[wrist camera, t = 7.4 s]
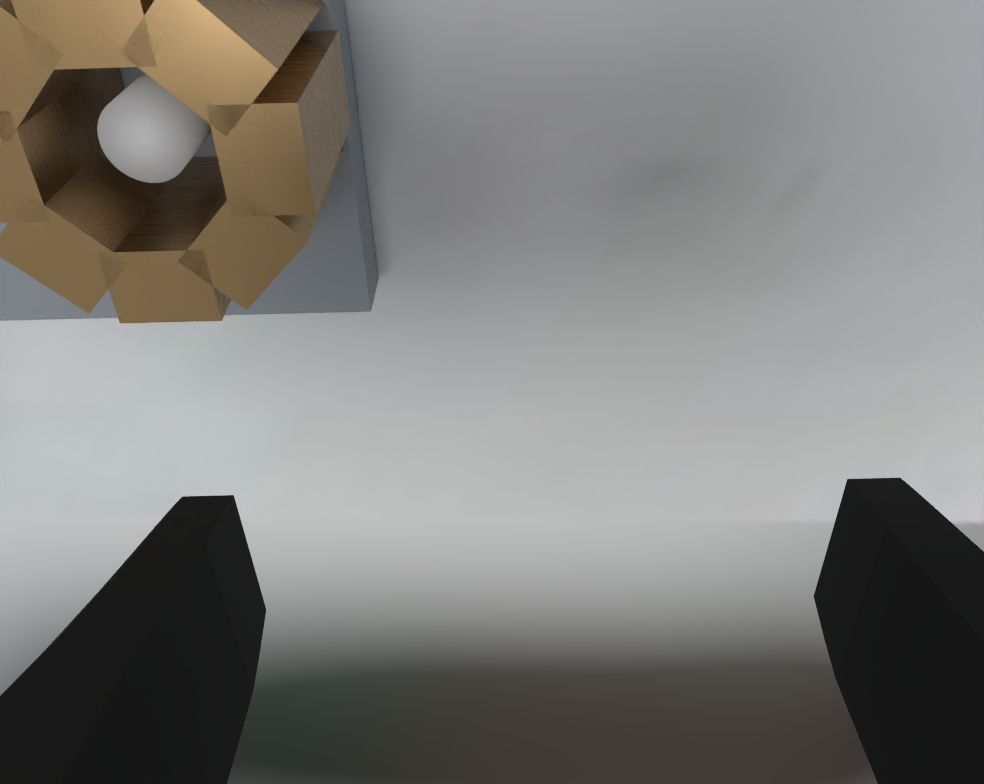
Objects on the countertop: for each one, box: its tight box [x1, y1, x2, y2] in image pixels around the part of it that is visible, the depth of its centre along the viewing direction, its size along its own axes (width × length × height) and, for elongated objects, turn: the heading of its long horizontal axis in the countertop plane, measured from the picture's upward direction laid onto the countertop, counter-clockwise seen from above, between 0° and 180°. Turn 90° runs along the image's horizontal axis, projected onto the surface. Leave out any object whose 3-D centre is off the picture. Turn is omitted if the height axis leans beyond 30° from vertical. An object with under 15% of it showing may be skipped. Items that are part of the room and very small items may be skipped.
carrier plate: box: [0, 0, 378, 321], centre depth 15 cm, size 10×10×5 cm
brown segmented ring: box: [0, 0, 351, 323], centre depth 14 cm, size 5×5×4 cm
